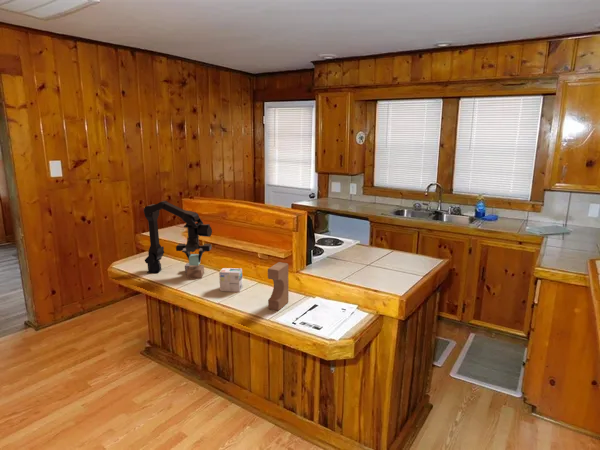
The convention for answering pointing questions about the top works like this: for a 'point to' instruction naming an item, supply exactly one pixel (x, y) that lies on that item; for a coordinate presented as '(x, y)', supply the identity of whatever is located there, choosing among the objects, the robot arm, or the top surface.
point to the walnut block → (195, 271)
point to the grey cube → (186, 267)
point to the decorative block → (278, 286)
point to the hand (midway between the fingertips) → (194, 261)
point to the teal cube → (194, 259)
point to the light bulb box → (231, 279)
